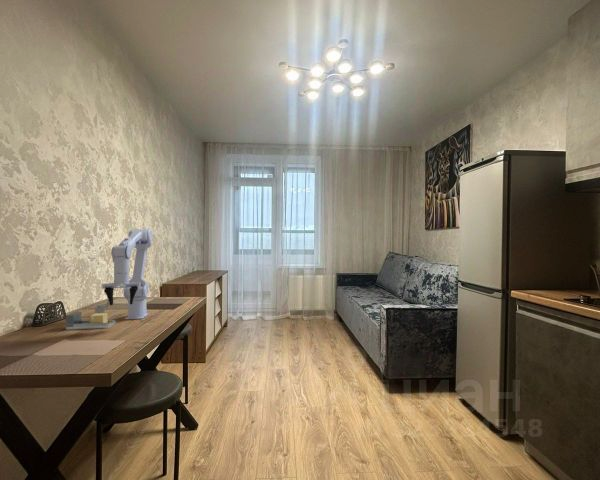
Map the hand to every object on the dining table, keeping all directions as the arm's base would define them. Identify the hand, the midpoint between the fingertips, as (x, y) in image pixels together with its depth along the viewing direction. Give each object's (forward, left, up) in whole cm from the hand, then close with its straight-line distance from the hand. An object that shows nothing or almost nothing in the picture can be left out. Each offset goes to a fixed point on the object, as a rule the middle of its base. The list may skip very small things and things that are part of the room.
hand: (121, 304), depth 137 cm
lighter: (-25, -18, -10) cm, 32 cm away
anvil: (-4, -21, -10) cm, 23 cm away
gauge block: (-3, -11, -9) cm, 14 cm away
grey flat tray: (-5, -14, -10) cm, 18 cm away
